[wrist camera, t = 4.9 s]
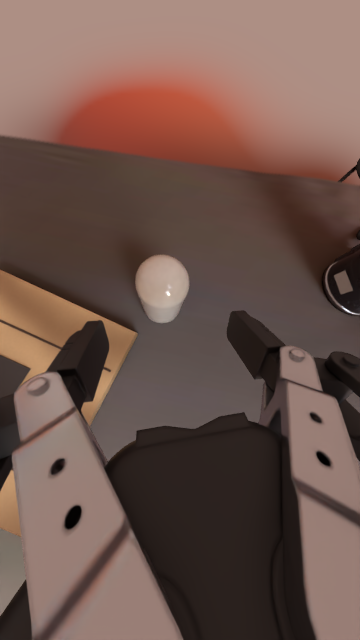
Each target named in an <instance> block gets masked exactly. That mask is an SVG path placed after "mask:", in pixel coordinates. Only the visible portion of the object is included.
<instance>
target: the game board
mask: <svg viewBox="0 0 360 640" xmlns="http://www.w3.org/2000/svg"><path fill="white" fill-rule="evenodd" d="M99 320H102V321H103V323H104V326H105V330H106V333H107V337H108V340H109V352H108V355H107V358H106V362H105V365H104V368H103V371H102V374H101V378H100V381H99V384H98V387H97V390H96V393H95V397H94V400H93V401H92V402H85V403H83V406H82V409H81V411H82V413H83V415H84V417H85V419H86V421H87V423H88V425H89V427H90V425H91V423H92V421H93V419H94V417H95V415H96V413H97V412H98V410H99V408H100V406H101V404H102V402H103V400H104V398H105V396H106V394H107V393H108V391H109V389H110V387H111V385H112V383H113V381H114V379H115V377H116V375H117V373H118V372H119V370H120V368H121V366H122V364H123V362H124V360H125V358H126V356H127V354H128V353H129V351H130V349H131V347H132V345H133V343H134V341H135V339H136V337H137V335H138V334H137V333H136V332H134V331H132V330H130V329H127V328H125V327H123V326H121V325H119V324H117V323H115V322H112V321H110V320H108V319H106V318H104V317H102V316H99V315H97V314H95V313H93V312H91V311H89V310H86V309H84V308H82V307H80V306H78V305H76V304H73V303H71V302H69V301H67V300H65V299H63V298H60V297H58V296H56V295H54V294H52V293H50V292H48V291H45V290H43V289H41V288H39V287H37V286H35V285H32V284H30V283H28V282H26V281H24V280H22V279H19V278H17V277H15V276H13V275H11V274H9V273H6V272H4V271H2V270H0V398H2V397H5V396H8V395H11V394H13V393H15V392H16V390H17V389H18V388H19V387H20V386H21V385H22V384H23V383H24V382H26V381H27V380H28V379H30V378H32V377H34V376H36V375H38V374H41V373H44V372H46V370H47V369H48V367H49V366H50V364H51V363H52V361H53V360H54V359H55V357H56V356H57V354H58V353H59V351H61V348H62V347H63V346H64V345H65V343H66V341H67V340H68V338H69V337H70V336H71V335H73V334H74V333H75V332H76V331H79V330H82V328H83V327H84V325H85V323H86V322H87V321H99ZM0 528H2V529H4V530H6V531H8V532H11V533H13V534H15V535H18V536H20V537H21V531H20V522H19V514H18V506H17V497H16V489H15V480H14V472H13V467H12V469H11V471H10V473H9V475H8V477H7V479H6V481H5V483H4V485H3V487H2V489H1V491H0Z"/></svg>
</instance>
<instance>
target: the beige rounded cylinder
mask: <svg viewBox="0 0 360 640" xmlns="http://www.w3.org/2000/svg"><path fill="white" fill-rule="evenodd" d="M189 285H190V281H189V275H188V272H187V270H186V268H185V267H184V265H183V264H182V263H181V262H180V261H179V260H177V259H176V258H174V257H172V256H169V255H164V254H159V255H154V256H151V257H149V258H147V259H146V260H145V261H144V262H143V263H142V264H141V265H140V266H139V268H138V270H137V273H136V277H135V286H136V290H137V293H138V296H139V299H140V302H141V304H142V307H143V310H144V312H145V314H146V315H147V317H148V318H149V319H151V320H153V321H155V322H158V323H166V322H170V321H172V320H173V319H175V318H176V317H177V315H178V314H179V312H180V310H181V308H182V305H183V303H184V301H185V298H186V296H187V294H188V291H189Z"/></svg>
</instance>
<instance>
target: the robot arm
mask: <svg viewBox="0 0 360 640" xmlns="http://www.w3.org/2000/svg"><path fill="white" fill-rule="evenodd" d="M355 170H357V174H358V176H359V178H360V159H359V160H358V162H357V165H356V166H355V167H353V168H352V169H351V170H350V171H349V172H347V174H345V175H344V176H343V177H342V178H341V179H340V180H339V181H338V182H343V181H344V180H345V179H346V178H347V177H348V176H350V175H351V174H352V173H353V172H354V171H355ZM357 239H358V240H360V231H359V232H358V234H357ZM323 287H324V290H325V293H326V295H327V297H328V298H329V300H330V301H331V302H332V304H333V305H334V306H335V307H337V308H338V309H339V310H341V311H342V312H344V313H346V314H349V315H354V316H360V244H359V245H357V246H355V247H353V248H352V249H351V251H349V252H348V253H346V254H344V255H342V256H340V257H339V258H337V259H336V260H335V263H333V264H331V265H330V266H328V267H327V268H326V270H325V272H324V274H323ZM227 338H228V340H229V341H230V343H231V344H232V346H233V348H234V349H235V351H236V352H237V354H238V355H239V357H240V358H241V360H242V361H243V363H244V364H245V366H246V367H247V369H248V370H249V372H250V373H251V375H252V376H253V378H254V379H262V378H263V379H264V380H265V382H264V385H263V395H262V406H261V415H260V419H259V422H258V423H255V422H251V421H248V419H247V417H246V415H245V413H238V414H232V415H226V416H220V417H218V418H216V419H214V420H212V421H210V422H208V423H206V424H204V425H202V426H201V427H199V428H196V429H187V428H179V427H170V426H162V427H156V428H150V429H144V430H138V431H137V435H136V440H135V441H133V442H131V443H130V444H128V445H127V446H125V447H124V448H122V449H121V450H120V451H119V452H117V453H116V454H115V455H114V456H113V457H112V458H111V459H110V461H109V462H108V461H107V459H106V457H105V455H104V453H103V451H102V450H101V448H100V446H99V444H98V442H97V440H96V438H95V436H94V434H93V432H92V431H91V429H90V427H89V425H88V423H87V421H86V419H85V417H84V415H83V413H82V411H81V409H82V406H83V403H85V402H92V401H93V400H94V397H95V393H96V390H97V387H98V384H99V381H100V378H101V374H102V371H103V368H104V365H105V362H106V358H107V355H108V352H109V340H108V337H107V333H106V330H105V326H104V323H103V321H102V320H99V321H87V322H86V323H85V325H84V327H83V328H82V330H79V331H76V332H75V333H74V334H73V335H71V336H70V337H69V338H68V340H67V341H66V343H65V345H64V346H63V347H62V348H61V351H59V353H58V354H57V356H56V357H55V359H54V360H53V361H52V363H51V364H50V366H49V367H48V369H47V370H46V372H44V373H41V374H38V375H36V376H34V377H32V378H30V379H28V380H27V381H26V382H24V383H23V384H22V385H21V386H20V387H19V388H18V389H17V390H16V392H15V393H13V394H11V395H8V396H5V397H2V398H0V491H1V489H2V487H3V485H4V483H5V481H6V479H7V477H8V475H9V473H10V471H11V469H12V467H13V472H14V480H15V489H16V497H17V506H18V514H19V522H20V531H21V539H22V548H23V556H24V565H25V573H26V580H25V581H24V583H23V584H22V586H21V587H20V589H19V590H18V592H17V593H16V594H15V596H14V597H13V599H12V600H11V602H10V603H9V605H8V606H7V607H6V609H5V610H4V612H3V613H2V615H1V616H0V640H360V467H359V464H358V461H357V459H358V460H359V461H360V413H359V412H358V411H357V410H356V409H355V408H354V407H353V406H352V405H351V404H349V403H348V402H347V401H346V400H345V399H346V398H347V397H348V396H349V395H350V394H351V393H352V392H354V393H355V394H356V395H358V396H359V397H360V359H359V358H358V357H355V356H353V355H351V354H348V353H344V352H332V353H331V354H330V356H329V357H328V358H327V359H321V358H314V357H312V356H311V355H310V354H309V353H308V352H306V351H305V350H303V349H301V348H298V347H295V346H289V345H287V346H286V345H285V344H284V343H283V342H282V341H281V340H279V339H278V338H277V337H276V336H275V335H274V334H273V333H272V332H271V331H269V329H267V328H266V327H265V326H264V325H263V324H262V323H261V322H260V321H258V320H256V319H254V318H252V317H251V316H250V315H248V314H247V313H246V312H245V311H232V312H231V314H230V318H229V323H228V327H227ZM356 457H357V458H356Z"/></svg>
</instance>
